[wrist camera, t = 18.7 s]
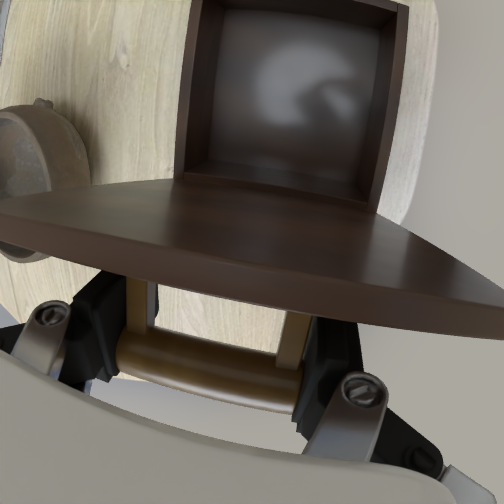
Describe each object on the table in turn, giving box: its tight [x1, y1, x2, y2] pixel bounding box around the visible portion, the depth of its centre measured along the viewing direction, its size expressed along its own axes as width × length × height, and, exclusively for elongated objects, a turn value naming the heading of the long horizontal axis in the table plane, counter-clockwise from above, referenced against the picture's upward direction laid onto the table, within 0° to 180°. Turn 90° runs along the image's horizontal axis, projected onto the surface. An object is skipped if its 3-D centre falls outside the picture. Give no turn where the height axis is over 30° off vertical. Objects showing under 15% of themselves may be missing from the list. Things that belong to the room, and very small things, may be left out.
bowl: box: [0, 98, 91, 263], centre depth 28 cm, size 17×18×10 cm
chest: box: [173, 0, 409, 213], centre depth 22 cm, size 17×16×7 cm
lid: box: [0, 178, 504, 415], centre depth 15 cm, size 18×16×5 cm
